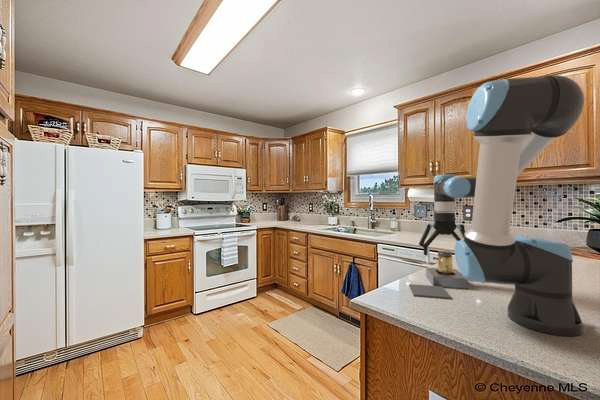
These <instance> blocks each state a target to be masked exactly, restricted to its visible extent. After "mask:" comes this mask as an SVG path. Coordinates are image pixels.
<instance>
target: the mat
mask: <svg viewBox="0 0 600 400" xmlns="http://www.w3.org/2000/svg"><path fill="white" fill-rule="evenodd" d="M408 287H409V288H410V291H411V293H412V295H413V297H420V298H431V299H444V300H452V296H451V294H449V292H448V291H447V290H446V288H445V287H442V286H433V285H430V284H429V285H427V284H414V283H409V284H408Z"/></svg>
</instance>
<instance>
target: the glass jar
mask: <svg viewBox="0 0 600 400" xmlns="http://www.w3.org/2000/svg"><path fill="white" fill-rule="evenodd" d="M437 266H438V267H437V268H438V274H443V275H453V272H452V269H453V252H452V251H448V250H438V251H437Z"/></svg>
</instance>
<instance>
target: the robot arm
mask: <svg viewBox="0 0 600 400" xmlns="http://www.w3.org/2000/svg"><path fill="white" fill-rule="evenodd" d="M584 105H585V95H584V92H583V90H582V88H581V87H580V85H579V84H578V83H577V82H576V81H575V80H574V79H571V78H569V77H568V76H563V75H557V74H556V75H555V74H552V75H550V74H549V75H545V76H531V77H518V78H517V77H516V78H504V79H503V78H501V79H498V80H491V81H487V82H484V83H483V84H481V85H480V86H479V87H478V88H477V89H476V90H475V92H474V93H473V95H472V97H471V98H470V101H469V102H468V106H467V110H466V116H465V122H466V124H465V125H466V127H467V129H468V130H469V131H472V132H473V139H475V141H477V142H478V143H479V148H478V161H477V169H476V176H475V177H474V176H473V177H463V176H455V175H454V174H437V175H435V176H434V179H433V201H434V202H433V203H434V205H433V207H434V216H433V217H434V221H433V222H434V223H433V224H432V223H426V224H425V230H424V232H423V234H422V236H421V238H420V240H419V242H418V246H420V247H422V248H423V255H424V256H425V260H426V261H425V262H426V264H428V265H430V264H431V263H430V262H431V261H430V259H431V257H430V253H431V252H430V250H431V249H430V247H429V246H430V245H431V244H432V243H433V241H434V240H435V239H436V238H437V237H438V236H439V235H441V236H444V235H447V236H449V235H451V236H452V237H453V238H454V239H455V240H456V242H455V245H454V258H455V262H456V266H457V268H458V271H459V272H460V273H461V274H462V276H463V277H464V278H465V279H467V280H468V282H476V283H481V284H485V283H486V284H487V283H490V284H510V285H514V291H513V294H512V296H511V298H510V301H509V303H508V306H507V317H508V318H509V319H510V320H511V321H513V322H514V323H516V324H518V325H520V326H523V327H525V328H527V329H530V330H534V331H537V332H539V333H544V334H549V335H555V336H560V337H561V336H562V337H577V336H578V337H579V336H580V335H582V334H583V332H584V327H583V326H584V325H583V321H582V319H581V316H580V314H579V311H578V310H577V307H576V305H575V302H574V300H573V262H574V259H573V255H572V249H571V246H570V245H568V244H567V243H565V242H561V241H557V240H550V239H546V238H545V239H544V238H538V237H531V236H530V237H529V236H523V235H516V236H513V235H512V234H510V232H511V222H512V217H513V209H514V201H515V195H516V194H515V193H516V188H517V187H516V186H517V179H518V176H519V175H520V174H521V173H522V172H523V171H524V170H525V169H526V168H527V167H528V166H530V164H531V163H532V162H533V161H534V160H535V159H536V158H537V157H538V156H539V155H540V154H541V153H542V152H543V151H544V149H546V148H547V146H549V145H550V144H551V142H553V141H554V140H555V139H557V138H561V137H563V136H564V135H566V134H567V132H569V131H570V130H571V129H572V128H573V127H574V125H575V124H576V123H577V121H578V120H579V119H580V117H581V116H582V113H583V110H584V107H585V106H584ZM459 198H463V199H464V198H473V208H472V217H471V218H472V219H471V227H470V228H469V229H468V230H465V225H464V224H461V223H459V224H456V213H455V212H456V199H459ZM432 229H434V230H435V231H434V232H432V234H431V235H430V237H429V238H428V239H427V237H428V236H429V233H430V231H431V230H432ZM456 229H457V230H459V232H460V234H461V236H462V237H463V239H461V238H460V237H459V235H458V234H457V233H456V232H455V230H456Z"/></svg>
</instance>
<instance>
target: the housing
mask: <svg viewBox="0 0 600 400" xmlns="http://www.w3.org/2000/svg"><path fill="white" fill-rule="evenodd" d="M452 272H453V275H443V274H438V267H425V277H426V279H428V281H429V283H430V284H431V286H442V287H443V288H448V289H463V290H468V289H469V285H468V283H469V280H467V279H465V278H464V277H463V276H462V274H461V272H460V271H459V269H458V270H457V268H456V269H455V268H452Z"/></svg>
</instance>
